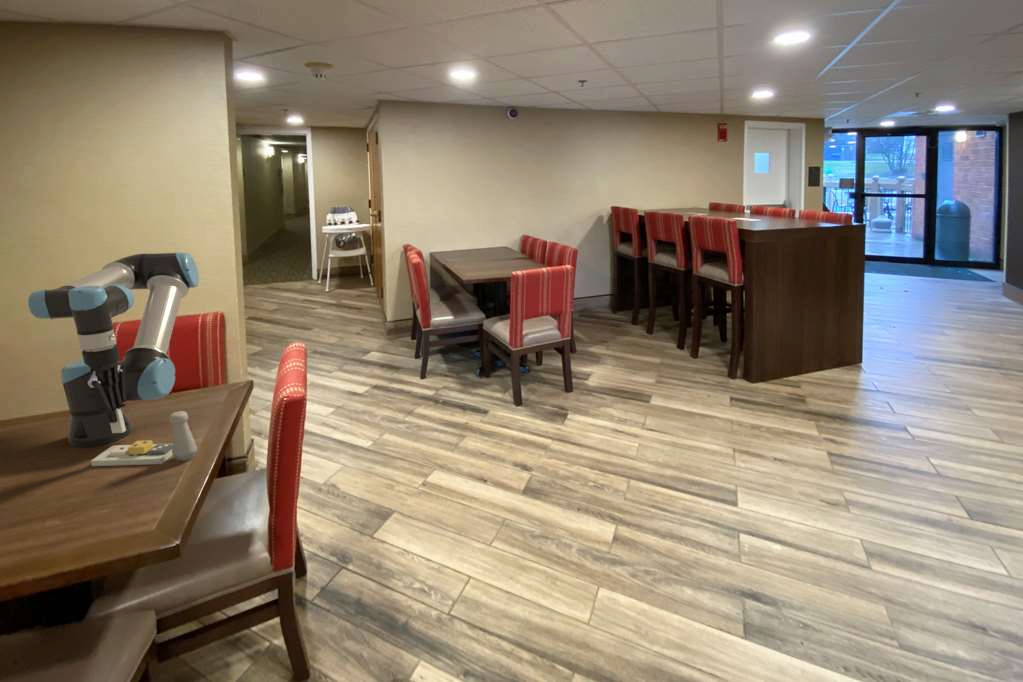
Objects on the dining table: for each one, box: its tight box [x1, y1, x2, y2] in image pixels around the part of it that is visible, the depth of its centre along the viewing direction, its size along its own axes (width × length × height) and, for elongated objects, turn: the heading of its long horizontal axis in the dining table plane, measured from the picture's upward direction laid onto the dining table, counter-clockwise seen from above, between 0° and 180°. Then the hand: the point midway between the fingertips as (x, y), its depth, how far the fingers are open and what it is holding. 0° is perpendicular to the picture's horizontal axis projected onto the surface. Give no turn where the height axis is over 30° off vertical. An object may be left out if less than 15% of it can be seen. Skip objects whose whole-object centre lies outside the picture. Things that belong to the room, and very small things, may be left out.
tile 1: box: [110, 444, 132, 457], centre depth 151 cm, size 4×4×2 cm
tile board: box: [90, 443, 174, 467], centre depth 151 cm, size 18×9×2 cm, turn 92°
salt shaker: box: [168, 410, 198, 462], centre depth 149 cm, size 6×6×13 cm
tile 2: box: [128, 439, 154, 455], centre depth 151 cm, size 4×4×2 cm
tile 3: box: [148, 443, 172, 455], centre depth 151 cm, size 4×4×2 cm
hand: (119, 431), depth 150 cm, fingers closed
